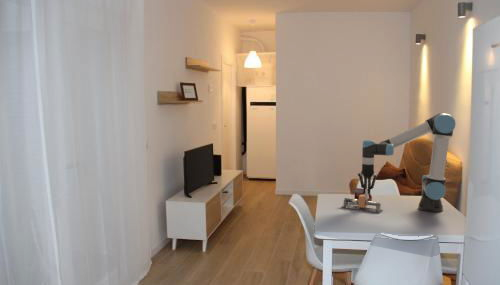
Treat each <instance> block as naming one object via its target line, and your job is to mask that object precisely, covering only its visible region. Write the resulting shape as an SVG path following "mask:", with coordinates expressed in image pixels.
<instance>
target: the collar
mask: <svg viewBox="0 0 500 285" xmlns="http://www.w3.org/2000/svg"><path fill="white" fill-rule="evenodd" d="M365 201H367V199H365V195H360V196H359V204H358V205H357V206H358V207H363V208H365V207H368V205H365Z"/></svg>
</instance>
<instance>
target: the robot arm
mask: <svg viewBox="0 0 500 285" xmlns="http://www.w3.org/2000/svg"><path fill="white" fill-rule="evenodd" d="M455 128H456V119H455V118H454V116H453V115H451V114H449V113H445V112H440V113H437V114H435V115H433V116H431V117H430V118H428V119H425V121H424V122H423V123H420V124H418V125H416V126H414V127H412V128H410V129H408V130H405V131H403V132H401V133H398V134H397V135H394V136H392V137H390V138H388V139H385V140H381V141H380V142H378V143H375V140H372V139H365V140H363V141H362V150H361V151H362V155H361V156H362V157H361V159H362V162H361V163H362V164H361V171H360V172H359V173H357V175H358V177H359V178H358V179H359V182H360V187H361V188H360V189H364V194H365V199H369V194H371V190H373V189H374V188H375V183H376V180H377V177H378V174H376V173H375V170H374V169H375V164H374V163H375V156H387V157H388V156H393V155H394V151H395V149H397V148H399V147H401V146H404V145H406V144H409V143H411V142H413V141H415V140H417V139H419V138H421V137H424V136H426V135H428V134H431V135H432V136H433V145H432V150H431V152H432V153H431V158H430V165H429V173H428V174H424V175H422V178H421V181H422V182H421V198H420V201H419V203H418V210H421V211H423V212H430V213H440V212H443V211H444V207H443V202H442V198H443V197H445V195H446V183H447V182H446V180H447V178H446V177H445V171H446V165H447V164H446V163H447V157H448V151H449V142H450V139H451V138H452V137H453V135H454V134H453V132H454V129H455ZM372 177H373V178H372Z"/></svg>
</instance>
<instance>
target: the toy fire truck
mask: <svg viewBox="0 0 500 285" xmlns="http://www.w3.org/2000/svg"><path fill="white" fill-rule="evenodd" d="M353 192H354V198H353V199H357V200H359V196H360V195H365V194H364V188H360V187H354V188H353ZM372 200H373V196H372V194H371V193H370V194H369V199H367V201H370V202H373V201H372Z"/></svg>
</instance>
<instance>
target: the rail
mask: <svg viewBox="0 0 500 285" xmlns="http://www.w3.org/2000/svg"><path fill="white" fill-rule="evenodd" d="M349 203H352V204H357V205H352V204H349ZM365 205H367V206H366V207H365V208H363V207H358V206H359V200H357V199H354V198H347V197H344V199H343V205H342V206H341V207H340V208H341V209H345V210H352V211H357V212H359V211H360V212H363V213H364V212H366V213H371V214H377V215H379V214H381V213H382V212H383V211H384V210H383V209H382V207H381V203H380V202H375V201H371V202H370V201H365ZM368 206H374V207H375V208H373V207H368Z"/></svg>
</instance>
